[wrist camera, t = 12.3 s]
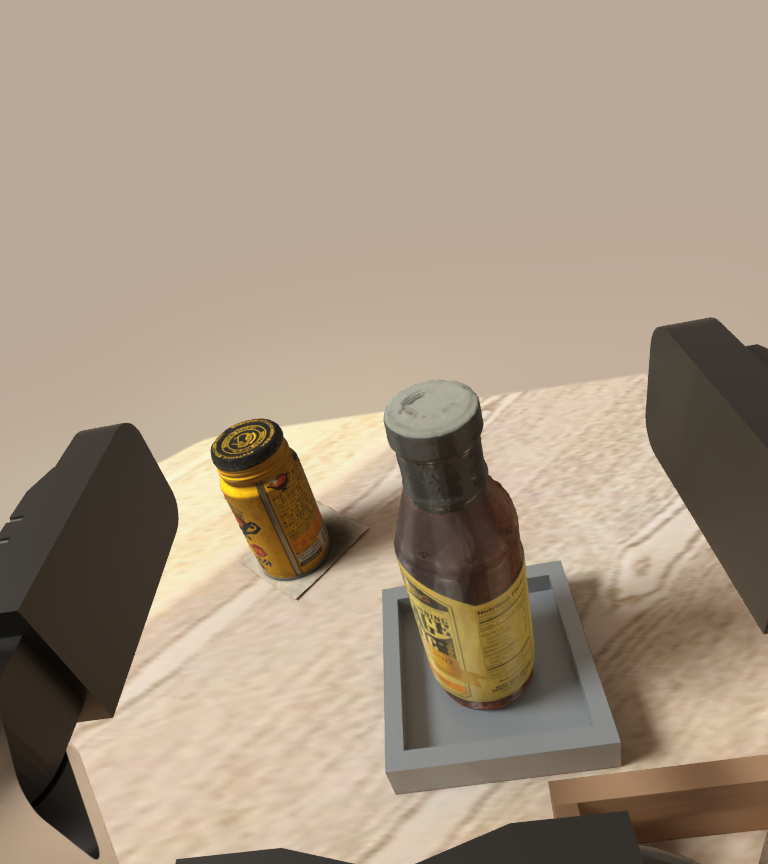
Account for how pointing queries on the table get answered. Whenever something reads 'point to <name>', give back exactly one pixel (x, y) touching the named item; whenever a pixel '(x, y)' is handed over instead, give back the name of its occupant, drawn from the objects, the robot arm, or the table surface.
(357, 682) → the table surface
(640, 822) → the holder
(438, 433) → the sauce bottle
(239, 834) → the table surface
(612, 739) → the tray
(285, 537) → the condiment
